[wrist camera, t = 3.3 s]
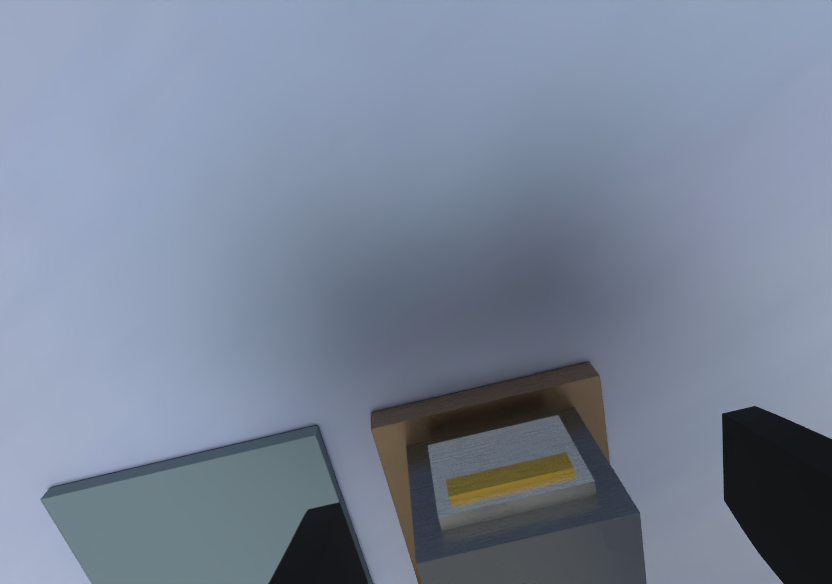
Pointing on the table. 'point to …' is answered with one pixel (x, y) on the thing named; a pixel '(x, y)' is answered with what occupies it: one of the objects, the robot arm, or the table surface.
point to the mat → (198, 513)
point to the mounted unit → (511, 484)
